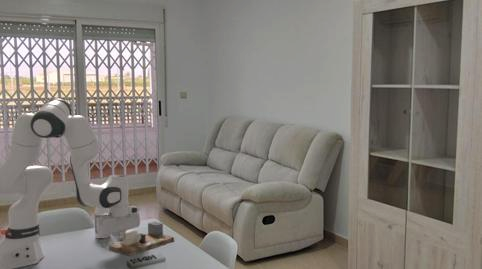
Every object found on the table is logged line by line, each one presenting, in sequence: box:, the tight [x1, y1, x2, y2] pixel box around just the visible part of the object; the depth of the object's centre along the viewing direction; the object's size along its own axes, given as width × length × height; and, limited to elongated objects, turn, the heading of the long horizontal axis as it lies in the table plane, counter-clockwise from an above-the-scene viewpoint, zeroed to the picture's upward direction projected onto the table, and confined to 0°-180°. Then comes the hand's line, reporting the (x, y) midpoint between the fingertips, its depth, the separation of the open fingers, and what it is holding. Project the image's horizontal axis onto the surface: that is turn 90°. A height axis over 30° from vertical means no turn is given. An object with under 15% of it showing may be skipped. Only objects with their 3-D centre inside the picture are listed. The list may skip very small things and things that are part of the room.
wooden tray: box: [108, 233, 175, 257], centre depth 212 cm, size 26×14×2 cm, turn 141°
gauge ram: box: [119, 229, 141, 245], centre depth 210 cm, size 8×8×5 cm
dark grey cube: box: [147, 221, 164, 237], centre depth 222 cm, size 4×6×6 cm, turn 51°
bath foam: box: [93, 207, 111, 239], centre depth 224 cm, size 7×7×20 cm
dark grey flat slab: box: [139, 233, 148, 244], centre depth 209 cm, size 1×5×4 cm, turn 51°
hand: (120, 241), depth 205 cm, fingers closed
